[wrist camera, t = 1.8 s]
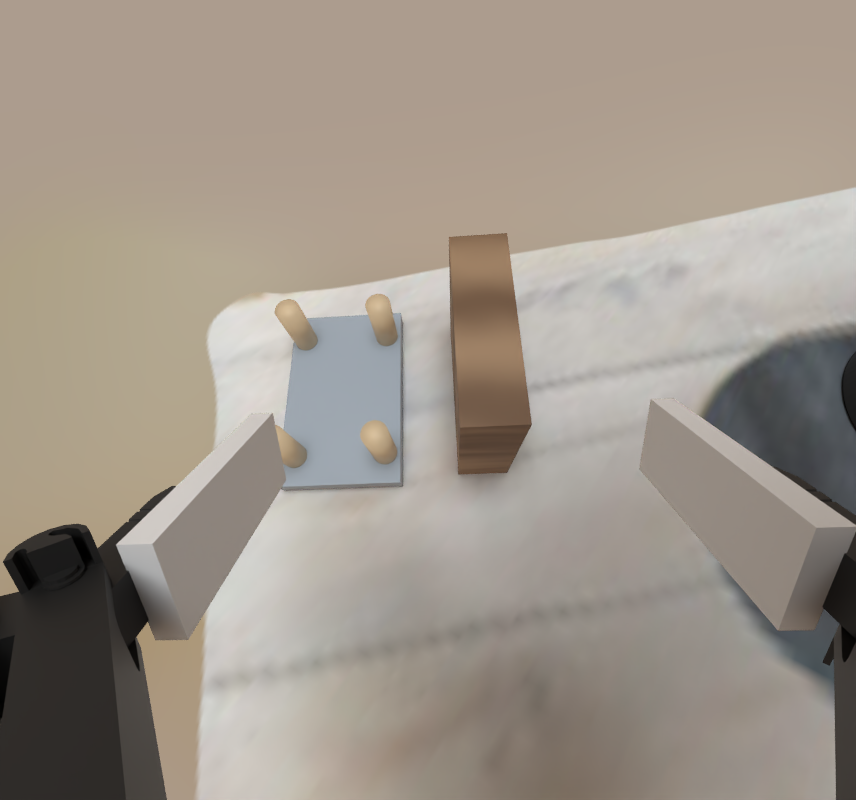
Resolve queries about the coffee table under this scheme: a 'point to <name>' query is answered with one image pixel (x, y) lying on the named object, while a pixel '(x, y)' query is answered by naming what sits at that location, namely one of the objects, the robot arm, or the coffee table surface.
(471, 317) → the board
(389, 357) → the cradle
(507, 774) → the coffee table surface
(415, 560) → the coffee table surface
